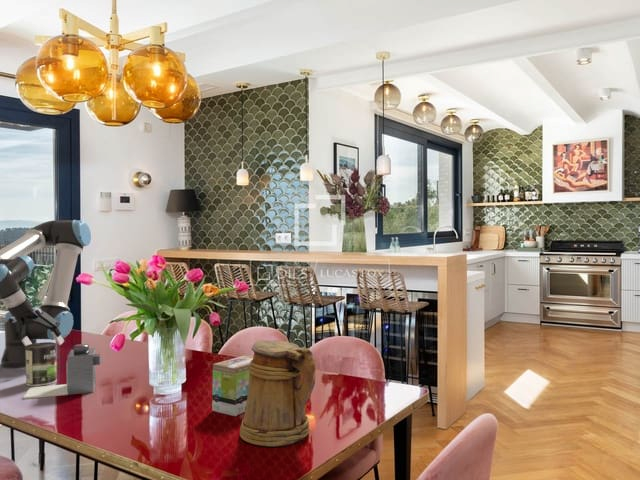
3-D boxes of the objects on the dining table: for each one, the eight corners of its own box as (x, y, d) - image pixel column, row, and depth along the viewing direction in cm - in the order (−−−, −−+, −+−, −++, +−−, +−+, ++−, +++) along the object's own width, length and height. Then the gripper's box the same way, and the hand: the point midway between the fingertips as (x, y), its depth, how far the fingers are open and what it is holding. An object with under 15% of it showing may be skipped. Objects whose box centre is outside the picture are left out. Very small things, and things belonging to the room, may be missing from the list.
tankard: (270, 418, 158) (269, 334, 158) (336, 435, 145) (335, 342, 145) (226, 438, 144) (225, 344, 143) (296, 458, 130) (294, 355, 130)
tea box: (236, 417, 160) (236, 367, 160) (211, 411, 165) (211, 363, 165) (267, 403, 173) (267, 357, 172) (243, 398, 178) (242, 354, 178)
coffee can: (63, 379, 203) (62, 342, 203) (44, 387, 193) (43, 348, 193) (39, 378, 205) (38, 341, 205) (19, 385, 195) (18, 347, 195)
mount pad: (30, 389, 191) (30, 387, 191) (71, 385, 195) (71, 383, 195) (23, 399, 179) (23, 397, 179) (67, 394, 184) (67, 392, 184)
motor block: (70, 385, 195) (69, 343, 195) (101, 382, 198) (100, 341, 198) (66, 394, 184) (65, 349, 183) (99, 391, 187) (98, 347, 187)
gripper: (-16, 316, 201) (16, 360, 209) (38, 299, 195) (69, 345, 203) (-4, 306, 208) (27, 349, 216) (49, 289, 202) (78, 333, 210)
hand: (47, 347), depth 210 cm, fingers open, 13 cm apart
